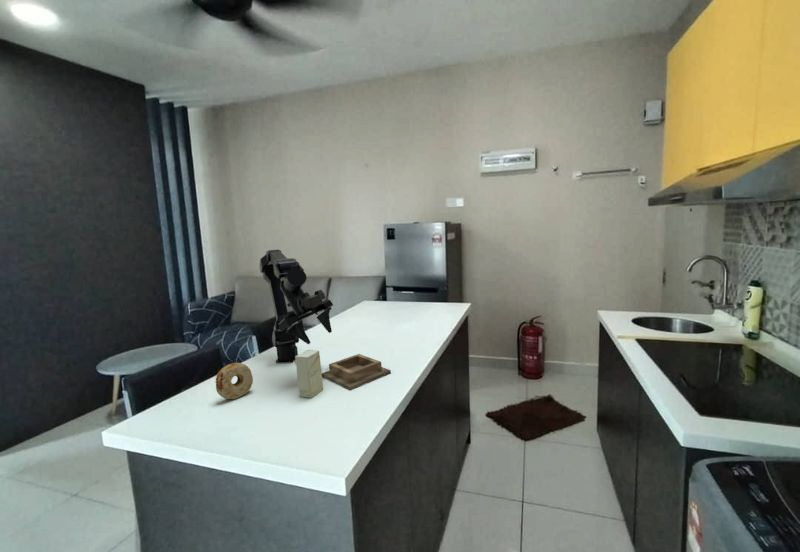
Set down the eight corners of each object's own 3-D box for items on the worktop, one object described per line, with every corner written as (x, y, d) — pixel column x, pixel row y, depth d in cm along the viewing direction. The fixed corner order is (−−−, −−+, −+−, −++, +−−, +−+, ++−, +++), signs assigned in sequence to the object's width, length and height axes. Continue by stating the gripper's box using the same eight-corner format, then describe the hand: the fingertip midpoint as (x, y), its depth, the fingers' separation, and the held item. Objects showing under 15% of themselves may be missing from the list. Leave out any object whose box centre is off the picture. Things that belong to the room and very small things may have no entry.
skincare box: (311, 398, 108) (307, 357, 106) (298, 396, 110) (294, 356, 108) (323, 389, 114) (320, 350, 112) (311, 387, 116) (307, 349, 114)
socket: (321, 376, 124) (320, 364, 123) (361, 361, 134) (360, 351, 134) (349, 390, 112) (348, 377, 111) (390, 373, 122) (390, 361, 122)
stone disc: (222, 405, 108) (217, 371, 106) (216, 402, 110) (211, 369, 109) (256, 391, 115) (252, 360, 114) (250, 388, 118) (246, 357, 116)
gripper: (283, 293, 109) (311, 340, 108) (329, 276, 124) (354, 317, 122) (266, 309, 116) (292, 353, 114) (312, 291, 131) (335, 330, 129)
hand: (320, 337), depth 120 cm, fingers open, 9 cm apart
